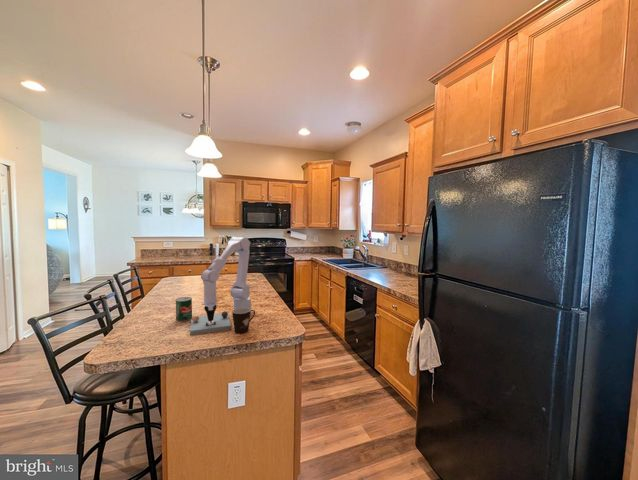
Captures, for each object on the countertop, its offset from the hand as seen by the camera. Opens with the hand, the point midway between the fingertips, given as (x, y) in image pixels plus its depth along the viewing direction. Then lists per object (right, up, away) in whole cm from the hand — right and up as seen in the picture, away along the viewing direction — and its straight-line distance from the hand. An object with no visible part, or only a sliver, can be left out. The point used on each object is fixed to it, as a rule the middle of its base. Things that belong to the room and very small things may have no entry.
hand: (210, 320), depth 135 cm
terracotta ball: (-8, +1, 0) cm, 8 cm away
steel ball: (+1, -1, -2) cm, 2 cm away
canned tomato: (-18, -3, +10) cm, 21 cm away
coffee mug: (+19, -4, -5) cm, 20 cm away
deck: (-1, -3, +2) cm, 3 cm away
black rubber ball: (+5, +1, +7) cm, 8 cm away
